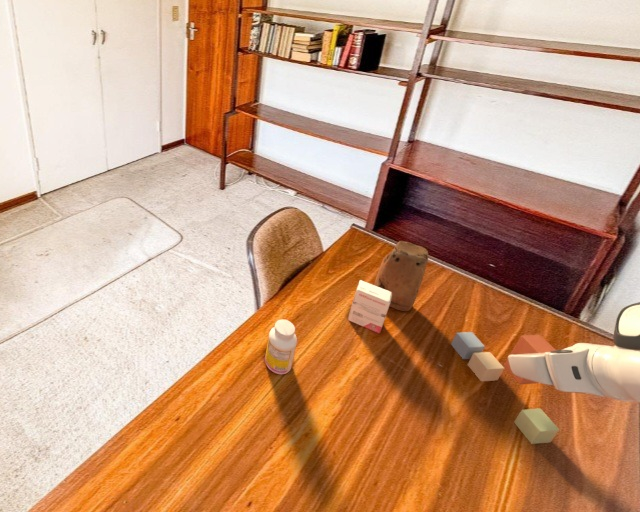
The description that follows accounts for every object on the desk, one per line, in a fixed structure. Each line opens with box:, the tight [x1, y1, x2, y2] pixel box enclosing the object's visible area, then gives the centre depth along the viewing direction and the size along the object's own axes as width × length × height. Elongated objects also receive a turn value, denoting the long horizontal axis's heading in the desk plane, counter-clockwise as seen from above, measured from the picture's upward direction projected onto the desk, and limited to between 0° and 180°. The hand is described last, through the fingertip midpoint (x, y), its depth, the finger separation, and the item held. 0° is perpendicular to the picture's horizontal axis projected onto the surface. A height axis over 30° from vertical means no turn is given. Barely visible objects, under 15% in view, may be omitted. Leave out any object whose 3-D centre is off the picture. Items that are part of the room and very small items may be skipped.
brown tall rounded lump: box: [373, 240, 429, 312], centre depth 115 cm, size 11×8×20 cm
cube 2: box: [467, 351, 505, 382], centre depth 98 cm, size 4×4×4 cm
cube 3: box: [450, 331, 486, 360], centre depth 103 cm, size 4×4×4 cm
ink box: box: [347, 279, 392, 334], centre depth 109 cm, size 9×5×12 cm, turn 58°
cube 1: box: [513, 407, 560, 445], centre depth 85 cm, size 4×4×4 cm
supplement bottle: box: [264, 319, 298, 375], centre depth 96 cm, size 7×7×13 cm
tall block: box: [503, 334, 557, 385], centre depth 86 cm, size 4×4×10 cm
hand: (529, 357), depth 86 cm, fingers closed on tall block, 4 cm apart
